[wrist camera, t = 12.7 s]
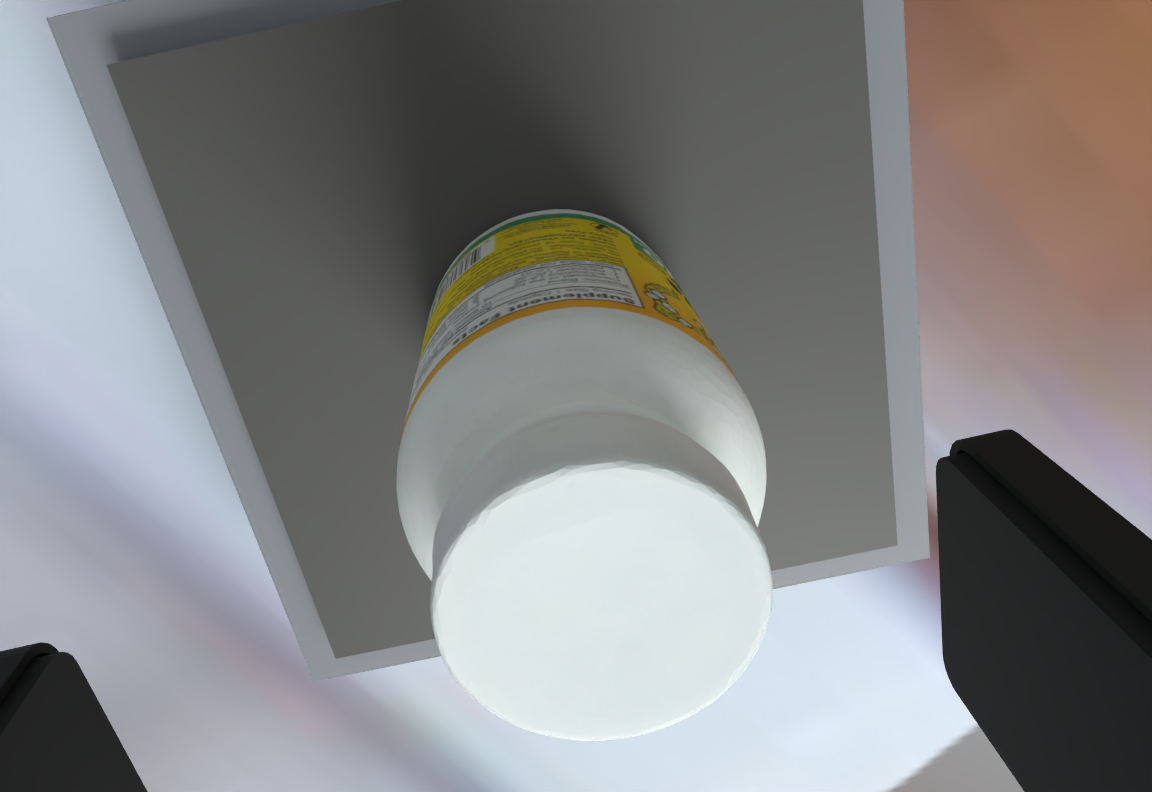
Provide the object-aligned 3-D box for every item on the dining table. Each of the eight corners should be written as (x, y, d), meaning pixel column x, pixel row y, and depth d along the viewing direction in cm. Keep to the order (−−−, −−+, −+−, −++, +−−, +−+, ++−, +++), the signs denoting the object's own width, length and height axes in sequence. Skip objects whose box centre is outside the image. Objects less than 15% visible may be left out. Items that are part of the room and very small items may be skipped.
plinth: (137, 16, 21) (30, 18, 16) (820, -133, 20) (908, -175, 16) (343, 581, 27) (308, 698, 22) (867, 474, 27) (939, 571, 22)
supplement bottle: (409, 222, 18) (316, 431, 9) (675, 188, 18) (835, 361, 9) (454, 459, 20) (414, 812, 11) (690, 428, 20) (833, 753, 11)
